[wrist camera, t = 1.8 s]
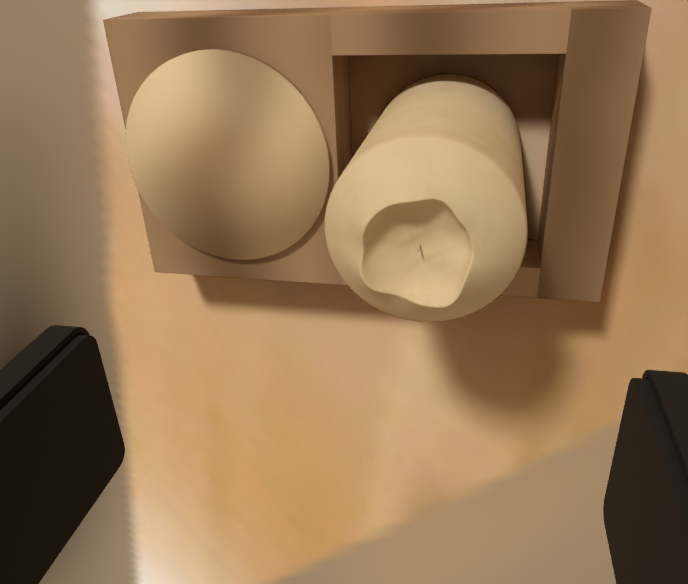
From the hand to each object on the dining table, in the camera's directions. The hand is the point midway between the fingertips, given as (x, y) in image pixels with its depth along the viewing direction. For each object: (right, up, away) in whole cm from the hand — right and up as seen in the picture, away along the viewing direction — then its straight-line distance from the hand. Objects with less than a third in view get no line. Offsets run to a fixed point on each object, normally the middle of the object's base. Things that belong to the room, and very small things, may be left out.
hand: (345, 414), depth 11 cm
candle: (+4, +8, +14) cm, 16 cm away
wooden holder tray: (+1, +8, +14) cm, 16 cm away
